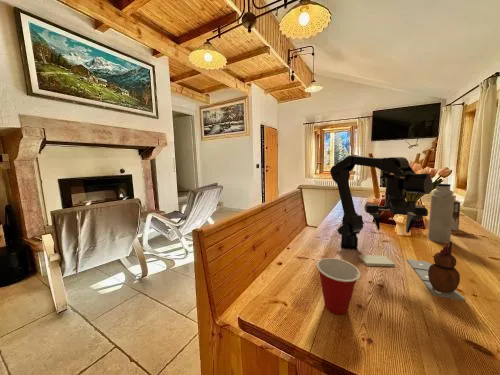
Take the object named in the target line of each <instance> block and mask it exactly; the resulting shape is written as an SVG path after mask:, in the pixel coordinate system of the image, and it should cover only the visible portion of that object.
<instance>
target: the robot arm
mask: <svg viewBox="0 0 500 375" xmlns="http://www.w3.org/2000/svg"><path fill="white" fill-rule="evenodd" d="M355 166H361V167H362V166H363V167H370V168H375V169H378V170H379V171H382V172H384V174H382V175H381V176H379V178H380V179H381V180H382V179H383V180H385V193H384V196H385V197H384V199H385V200H384V205H383V206H382V205H381V206H380V205H378V204H377V203H367V202H366V203H365V204H364V212H365V213H367V214H369V215H370V216H372V218H373V220H374V223H375V225H376V228H377V231H380V230H381V229H380V226H381V225H380V214H379V212H390V214H392V215H395V216H397V215H402V216H406V225H405V226H406V227H405V232H406V233H407V234H409V232H410V231H411V229H412V227H413V225H414V224H415V223H416V221H417V220H419V219H423V218H424V217H428V215H429V211H428V208H426V207H424V206H422V205H419V204H418V205H417V204H416V201H415V200H406V195H405V191H406V192H407V193H409V194H410V193H411V194H412V193H413V194H420V195H422V194H423V195H429V194H431V193H432V191H433V187H434V183H433V179H432V177H431V173H416V172H415V170H414V169H413V168H412V167H411V166H410V162H409V160H408V159H407V158H406V157H404V156H397V157H395V156H394V157H370V156H363V155H362V156H361V155H355V154H353V155H347V156H346V157H345V158H344V159H342V160H340V161H338V162H337V163H335V165H332V167H330V170H329V173H330V176H331V178H332V180H333V181H334V183H336V185H337V189H338V194H339V197H340V203H341V207H342V210H343V216H342V219H341V222H342V223H341V224H342V225H341V226H340V227H338V228H337V233H338V234H339V235H341V237H340V246H341V247H340V248H342V249H349V250H350V249H351V250H357V249H358V245H359V244H358V243H359V238H358V235H359V234H360V232H361V231H362V229H363V228H364V224H365V222H364V220H363V216H362V215H361V214H358V213H357V212H356V208H355V205H354V200H353V197H352V191H351V188H350V184H349V181H350V177H351V171H353V170H354V169H355Z"/></svg>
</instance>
